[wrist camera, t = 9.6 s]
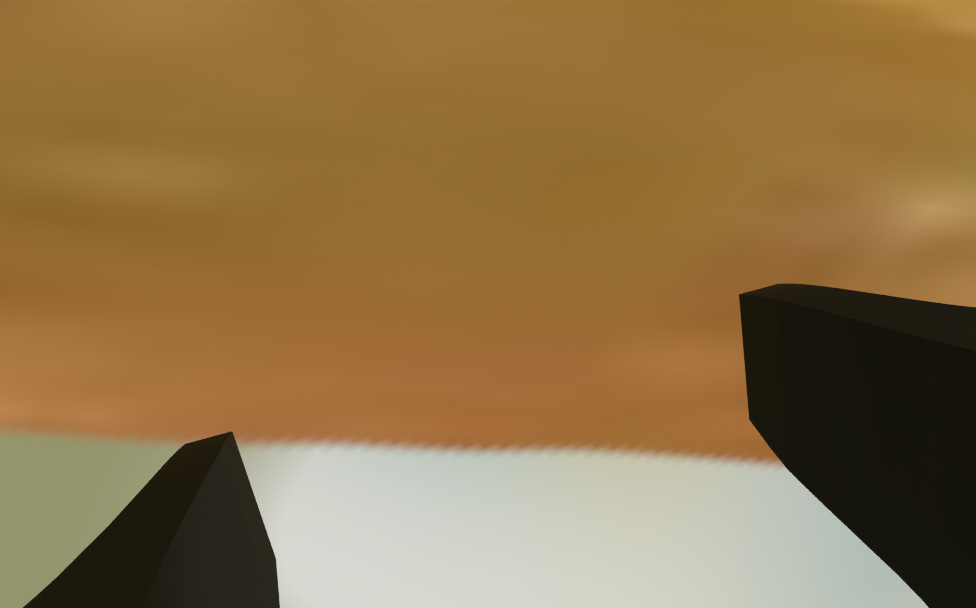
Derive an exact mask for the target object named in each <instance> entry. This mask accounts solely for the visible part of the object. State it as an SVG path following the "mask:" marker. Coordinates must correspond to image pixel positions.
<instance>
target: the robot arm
mask: <svg viewBox="0 0 976 608" xmlns="http://www.w3.org/2000/svg"><path fill="white" fill-rule="evenodd" d="M739 299H740V311H741V323H742V335H743V348H744V360H745V372H746V384H747V397H748V409H749V420H750V421H751V422H752V424H753V425H754V426H755V428H756V429H757V430H758V432H759V433H760V434H761V436H762V437H763V439H764V440H765V441H766V443H767V444H768V445H769V447H770V448H771V449H772V450H773V452H774V453H775V454H776V455H777V457H778V458H779V459H780V460H781V462H782V463H783V464H784V465H785V467H786V468H787V469H788V470H789V471H790V472H791V473H792V474H793V475H794V476H795V477H796V478H797V479H798V480H799V481H800V482H801V483H802V484H803V485H804V486H805V487H806V488H807V489H808V490H809V491H810V492H811V493H812V494H813V495H814V496H815V497H817V499H819V501H821V502H822V503H823V504H824V505H825V506H826V507H827V508H828V509H829V510H830V511H831V512H832V513H833V514H834V515H835V516H836V517H837V518H838V519H839V520H841V521H842V522H843V523H844V524H845V525H846V526H847V527H848V528H849V529H850V530H851V531H852V532H853V533H854V534H855V535H856V536H857V537H859V539H861V540H862V541H863V542H864V543H865V544H866V545H867V546H868V547H869V548H870V549H871V550H872V551H873V552H874V553H875V554H876V555H877V556H879V557H880V558H881V559H882V560H883V561H884V562H885V563H886V564H887V565H888V566H889V567H890V568H891V569H892V570H893V571H894V572H895V573H897V574H898V575H899V576H900V577H901V579H903V581H905V583H906V584H907V585H908V586H909V587H910V588H911V589H912V590H913V591H914V592H915V593H916V594H917V595H918V596H919V597H920V598H921V599H922V600H923V601H924V602H925V604H926V605H927V606H928V607H929V608H976V308H975V307H966V306H957V305H949V304H942V303H934V302H927V301H920V300H913V299H906V298H899V297H893V296H886V295H879V294H873V293H866V292H860V291H853V290H846V289H839V288H832V287H824V286H815V285H805V284H776V285H772V286H769V287H765V288H761V289H758V290H754V291H750V292H746V293H743V294H739ZM23 608H280V605H279V592H278V580H277V568H276V558H275V555H274V552H273V549H272V546H271V543H270V540H269V537H268V535H267V532H266V529H265V526H264V523H263V520H262V517H261V514H260V511H259V508H258V505H257V502H256V499H255V496H254V494H253V491H252V488H251V485H250V482H249V479H248V476H247V473H246V470H245V467H244V464H243V461H242V458H241V456H240V453H239V450H238V447H237V444H236V441H235V438H234V435H233V432H228V433H224V434H220V435H217V436H213V437H209V438H206V439H202V440H198V441H195V442H191V443H187V444H185V445H184V446H182V447H181V448H180V449H179V450H178V451H177V452H176V453H175V454H174V455H173V456H172V457H171V458H170V459H169V460H168V461H167V462H166V463H165V464H164V465H163V466H162V467H161V469H160V470H159V471H158V472H157V473H156V474H155V475H154V476H153V478H152V479H151V480H150V481H149V482H148V483H147V484H146V485H145V487H144V488H143V489H142V490H141V491H140V492H139V493H138V494H137V495H136V496H135V497H134V499H133V500H132V501H131V502H130V503H129V504H128V505H127V506H126V507H125V508H124V509H123V511H122V512H121V513H120V514H119V515H118V516H117V517H116V518H115V519H114V520H113V521H112V523H111V524H110V525H109V526H108V527H107V528H106V529H105V530H104V531H103V532H102V533H101V534H100V535H99V536H98V537H97V538H96V539H95V540H94V541H93V542H92V543H91V544H90V545H89V546H88V547H87V548H86V549H85V550H84V551H83V552H82V553H81V554H80V555H79V556H78V557H77V558H76V559H75V560H74V561H73V562H72V563H71V564H70V565H69V566H68V567H67V568H66V569H65V570H64V571H63V572H62V573H61V574H60V575H59V576H58V577H57V578H56V579H54V580H53V581H52V582H51V583H50V584H49V585H48V586H47V587H46V588H45V589H44V590H43V591H41V592H40V593H39V594H38V595H37V596H36V597H35V598H34V599H32V600H31V601H30V602H29V603H28V604H27V605H25V606H24V607H23Z"/></svg>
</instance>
